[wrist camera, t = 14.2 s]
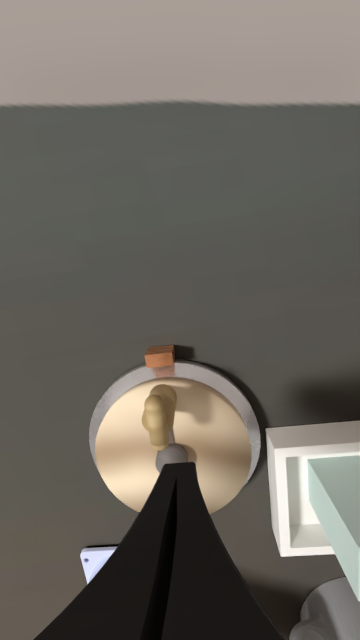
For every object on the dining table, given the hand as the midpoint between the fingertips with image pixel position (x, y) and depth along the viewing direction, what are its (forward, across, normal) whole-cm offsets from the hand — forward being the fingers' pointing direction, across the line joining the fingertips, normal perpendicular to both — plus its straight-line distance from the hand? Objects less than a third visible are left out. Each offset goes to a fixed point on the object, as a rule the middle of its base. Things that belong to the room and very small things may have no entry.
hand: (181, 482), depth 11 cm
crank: (+9, +2, +5) cm, 10 cm away
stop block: (+10, -11, +10) cm, 18 cm away
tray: (+10, -11, +10) cm, 18 cm away
